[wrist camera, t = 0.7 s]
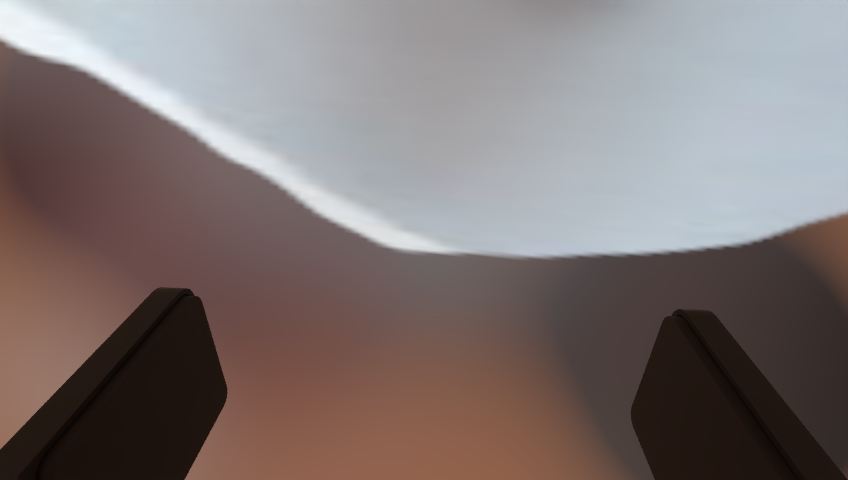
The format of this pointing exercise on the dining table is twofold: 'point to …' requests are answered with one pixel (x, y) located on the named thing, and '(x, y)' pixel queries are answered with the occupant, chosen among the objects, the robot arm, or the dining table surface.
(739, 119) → the dining table surface
